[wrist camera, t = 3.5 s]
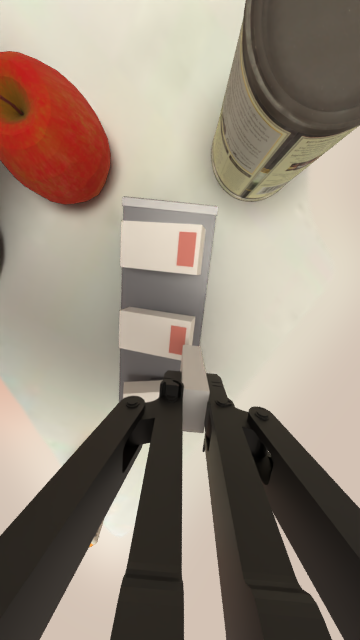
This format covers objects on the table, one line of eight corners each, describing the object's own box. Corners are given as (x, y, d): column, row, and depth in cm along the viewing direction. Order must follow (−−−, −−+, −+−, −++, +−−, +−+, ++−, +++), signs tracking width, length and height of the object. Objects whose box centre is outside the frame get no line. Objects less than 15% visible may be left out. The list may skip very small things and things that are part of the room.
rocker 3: (122, 412, 26) (122, 427, 24) (123, 381, 25) (123, 394, 23) (183, 407, 28) (188, 421, 26) (186, 379, 27) (192, 390, 25)
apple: (26, 109, 23) (-96, -12, 13) (116, 112, 23) (66, -7, 13) (38, 209, 26) (-54, 173, 16) (120, 212, 26) (80, 177, 16)
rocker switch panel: (125, 399, 33) (116, 422, 28) (131, 206, 26) (120, 193, 21) (189, 405, 33) (190, 428, 28) (212, 215, 26) (219, 203, 21)
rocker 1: (131, 267, 23) (119, 266, 21) (132, 225, 22) (120, 220, 20) (200, 274, 22) (196, 275, 19) (205, 229, 20) (201, 224, 18)
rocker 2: (128, 341, 26) (118, 348, 23) (130, 306, 25) (118, 310, 22) (191, 353, 24) (186, 362, 22) (195, 316, 23) (190, 322, 20)
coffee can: (261, 74, 22) (388, -232, 9) (316, 154, 24) (492, 8, 10) (191, 152, 24) (204, 4, 10) (247, 221, 26) (320, 171, 12)
